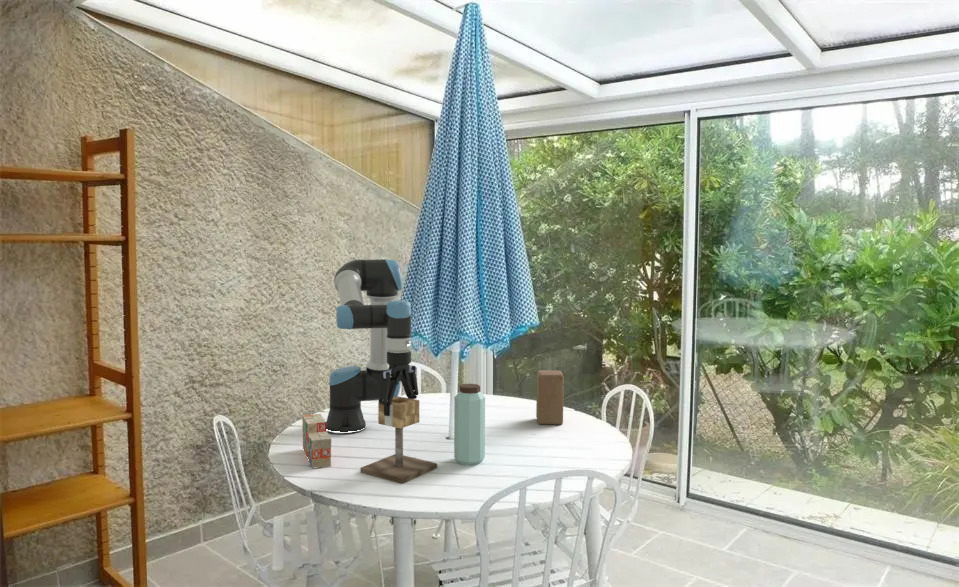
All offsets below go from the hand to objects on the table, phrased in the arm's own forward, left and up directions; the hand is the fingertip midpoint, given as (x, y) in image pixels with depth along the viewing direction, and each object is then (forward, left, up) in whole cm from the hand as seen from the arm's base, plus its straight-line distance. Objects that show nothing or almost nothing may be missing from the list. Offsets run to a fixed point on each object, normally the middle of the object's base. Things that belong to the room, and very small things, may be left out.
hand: (399, 422), depth 213 cm
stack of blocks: (+6, -31, -16) cm, 35 cm away
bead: (0, 0, 0) cm, 0 cm away
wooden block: (-78, +12, -16) cm, 80 cm away
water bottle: (-20, +13, -16) cm, 28 cm away
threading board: (0, 0, -15) cm, 15 cm away
